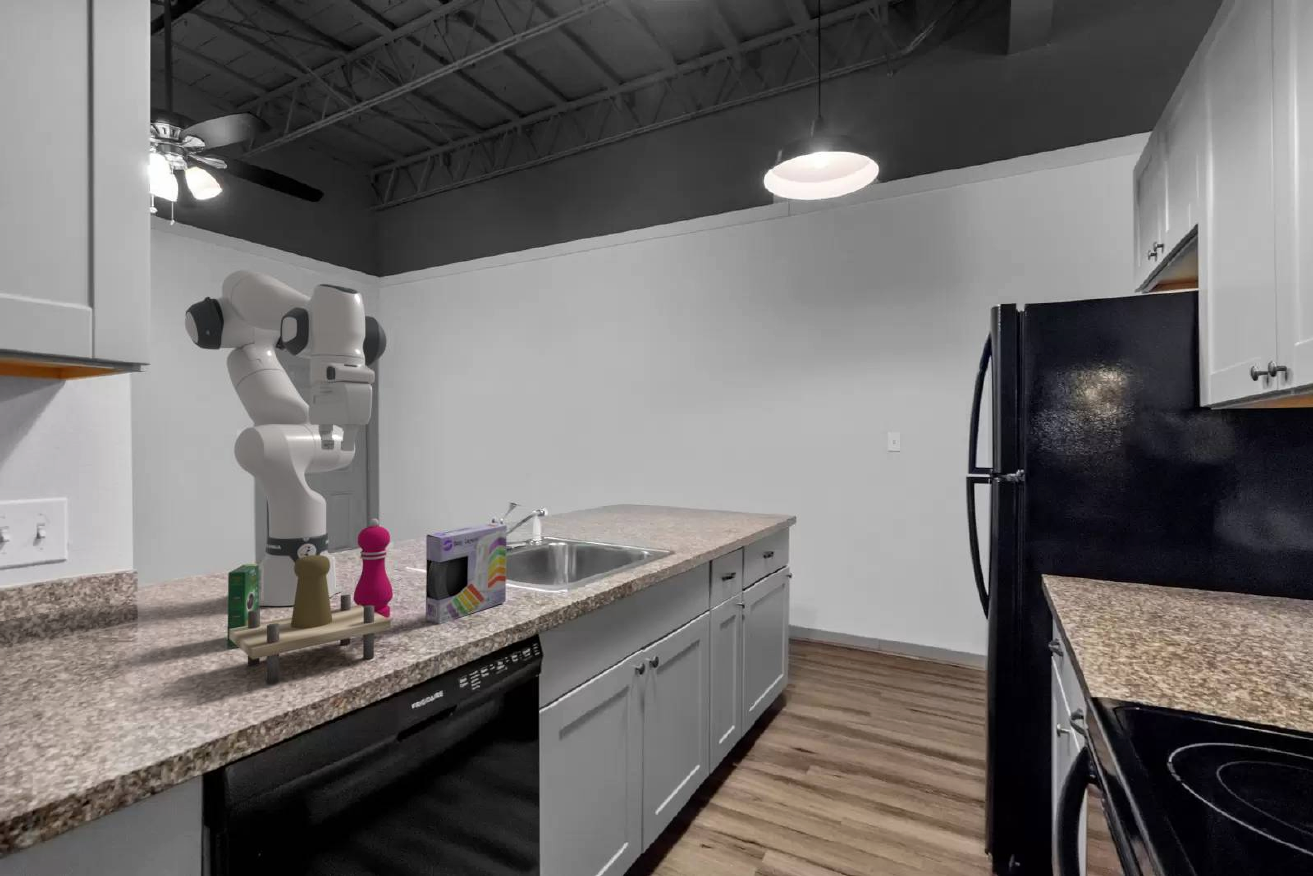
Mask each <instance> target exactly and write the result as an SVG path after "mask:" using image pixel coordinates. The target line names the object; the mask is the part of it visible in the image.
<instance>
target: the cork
mask: <svg viewBox="0 0 1313 876" xmlns="http://www.w3.org/2000/svg"><path fill="white" fill-rule="evenodd" d="M329 569H330V561H329V559H328V558H327V557H325V556H321V555H310V556H305V557H301V558H299V559H298V560H297V561H296V562H295V566H294V571H295V574H296V576H297V577H298V582H297V588H296V595H295V601H294V605H293V610H292V616H291V617H292V621H291V627H293V628H314V627H320V626H324V625H327V624H329V623H331V622H332V614H331V610H332V608H331V600H330V597H329V592H328V585H327V578H326V575H327V573H328V572H329Z"/></svg>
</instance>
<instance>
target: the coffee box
mask: <svg viewBox="0 0 1313 876" xmlns="http://www.w3.org/2000/svg"><path fill="white" fill-rule="evenodd" d="M259 565H260V563H246V564H242V565H241V566H239V567H237V568H235V569H233V570H231V571H229V572H227V636H226V637H227V642H226V647H227V648H228V649H229V648H230V649H231V648H239V647H238V646H237V645H236V644H235V643H234V642H233V641H231V640H230V639H229V629H232V628H238V627H243V626H248V612H249V611H252V610H259V609H260V606H259Z"/></svg>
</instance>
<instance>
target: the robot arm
mask: <svg viewBox="0 0 1313 876" xmlns="http://www.w3.org/2000/svg"><path fill="white" fill-rule="evenodd" d="M221 293H222V296H221V297H219V298H211V297H210V296H207V297H205V298H204V299H203V300H201V301H198V302H196V303H193V304H192V305H190V307H188V308H187V310H186V311H185V318H184V325H185V330H186V332H187V335H188V336H189V337H190V339H191V340H192V342H193V344H195V345H196V346H197V347H199V348H200V349H203V350H212V351H213V350H214V351H215V350H216V351H217V350H220V349H232V350H231V351H230V352H229V353H228V355H227V357H226V367H227V372H228V375H229V378H230V381H231V384H232V387H233V388H234V391H235V392H236V395H237V396H238V398H239V400H240V402H241V404H242V405H243V407H244V410H245V411H246V413H247V415H248V416H249V418H250V419H251V420H252V421H253V423H255V424H256V425H255V426H251V427H247V428H245V429H244V430H242V431H241V432H240V433H239V435H238V436H237V438H236V440H235V442H234V449H233V452H234V457H235V460H236V462H237V463H238V465H239V466H240V467H241V469H243V471H245V472H246V473H248V474H249V475H251V476H252V477H254V479H255V480H256V481H257V482H258V484H259V485H260V487H261V488H262V490H263V492H264V494H265V498H266V500H267V507H268V525H269V529H268V531H269V532H268V533H269V536H268V537H267V538H266V543H265V553H266V554H265V556H264V558H263V559H262V561H261V562H260V563H259V607H261V606H262V607H263V606H271V607H284V606H285V607H287V606H294V601H295V595H296V588H297V582H298V577H297V576H296V574H295V571H294V566H295V562H296V561H297V560H298V559H299V558H301V557H305V556H310V555H321V556H325V557H327V558H328V559H329V561H330V569H329V572H328V573H327V575H326V578H327V585H328V592H329V598H331V597H333V596H335V594H339V593H340V592H343V586H341V585H338V584H337V581H336V580H337V578H336V576H337V575H336V560H335V557H334V556H333V555H332V554H330V553H329V552H328V549H329V541H330V540H329V533H327V502H326V499H325V498H324V497H323V496H322V495H321V494H320V493H318V492H316V491H315V490H312V489H311V488H310V487H309V485H308V483H307V481H306V478H305V474H311V473H327V472H332V471H336V470H338V469H342V468H345V467H348V466H349V465H350V464H351V462H352V461H353V459H354V457H355V454H356V443H355V442H356V439H357V436H358V433H359V425H360V426H362V425H363V426H365V425H368V424H369V422H370V420H371V417H372V408H373V407H372V405H373V404H372V403H373V387H372V385H371V384H373V383H374V382H375V379H376V378H375V377H376V375H375V371H374V370H373V369H371V368H370V367H369V366H371V365H373V364H375V362H376V361H378V360H379V359H380V358H381V357H382V356H383V354H384V353H385V351H386V348H387V334H386V332H385V330H384V328H383V327H382V325H381V324H380V323H379V321H378V320H377V319H376V318H375V317H373V316H368V315H366V314H365V305H364V301H363V296H362V294H361V293H360V292H358V291H357V290H356V289H354V288H348V287H344V286H341V285H333V284H327V283H322V284H318V285H315V287H314V289H313V292H312V296H311V297H310V296H308V295H305V294H303V293H302V292H300V291H299V290H297V289H295V288H293V287H291V286H289V285H287V284H286V283H283V282H282V281H281V280H278V279H276V278H275V277H273V276H271V275H269V274H266V273H263V272H261V271H260V272H259V271H258V270H257V271H256V270H250V269H249V270H248V269H245V270H244V269H243V270H242V269H241V270H237V271H234V272H231V273H230V274H228V276H226V277H225V279H224V280H223V282H222V286H221ZM276 348H277V349H278V350H281V351H283V350H285V349H286V351H287V352H288V353H290V354H291V355H292V356H296V357H298V358H302V359H309V360H310V362H309V363H310V367H309V368H310V369H309V370H310V371H309V372H310V374H309V377H310V378H309V379H310V381H309V382H310V383H311V384H315V385H313V386H312V387H311V388H310V392H309V393H310V394H309V402H308V403H307V402H306V401H305V400H304V399H303V398H302V396H301V395H300V393H299V392H298V390H297V388H296V387H295V385H294V384H293V382H292V381H291V378H290V377H289V375H288V374H287V372H286V370H285V369H284V368H283V366H282V364H281V363H280V362H279V359H278V357H277V355H276ZM340 426H342V427H340Z"/></svg>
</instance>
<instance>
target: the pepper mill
mask: <svg viewBox="0 0 1313 876" xmlns="http://www.w3.org/2000/svg"><path fill="white" fill-rule="evenodd" d="M379 524H380V522H379V519H377V518H371V519H370V520H369V526H367V527H364V528H363V529H362V530H360V532H359V534H358V535H357V544H358V546H359V548H360V549H361V550H360V556H359V557H360V558H359V559H361V560H362V561H361V562H362V568H361V574H360V577H359V579H358V582H357V584H356V586H355V589H354V593H353V601H354V603H355V604H356V605H361V606H363V607H365V606H370V605H372V606H374V612H375V613H378V614H380V615H382V616H384V617H386V618H388V619H389V617H390V616H391V606H390V605H389V603H390V602H391V601H392V599H393V595H394V593H393V591H394V590H393V587H392V584H391V582H390V580H389V577H388V574H387V571H386V563H385V562H386V558H387V557H388V554H387V552H388V550H387V549H386V548H387V547H388V546H389V544H390V542H391V535H390V532H389V531H388V530H387V529H386V528H385V527H383V526H379Z"/></svg>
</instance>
